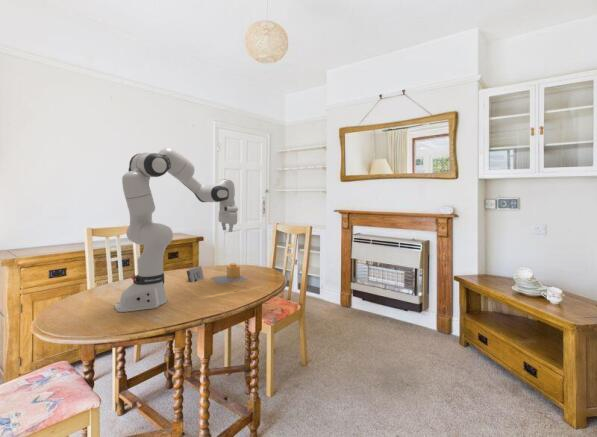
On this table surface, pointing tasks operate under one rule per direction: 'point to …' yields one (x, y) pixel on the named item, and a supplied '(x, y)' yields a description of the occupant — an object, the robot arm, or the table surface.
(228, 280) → the board
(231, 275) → the orange knobbed cube
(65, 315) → the table surface
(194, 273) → the electrical switch
